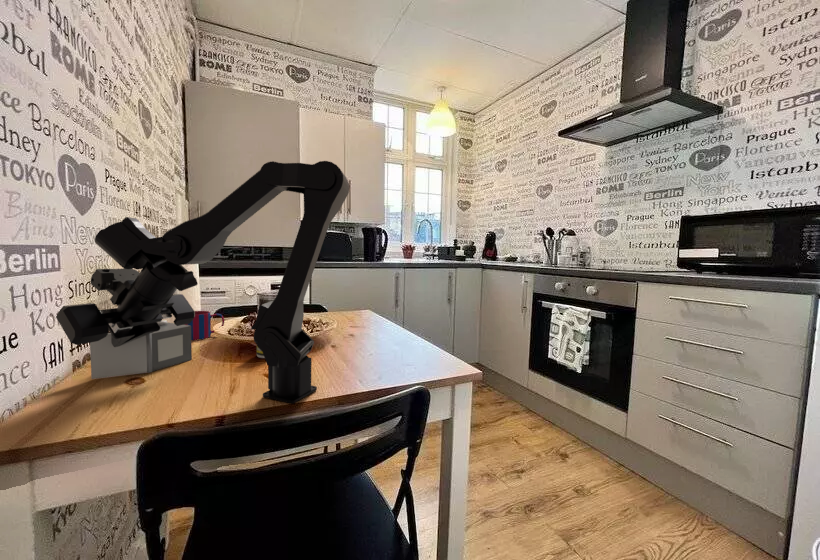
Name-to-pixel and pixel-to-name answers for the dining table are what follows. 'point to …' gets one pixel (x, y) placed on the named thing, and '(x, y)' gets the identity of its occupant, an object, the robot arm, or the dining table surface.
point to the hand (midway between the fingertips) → (115, 344)
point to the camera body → (170, 345)
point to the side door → (120, 357)
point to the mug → (202, 325)
